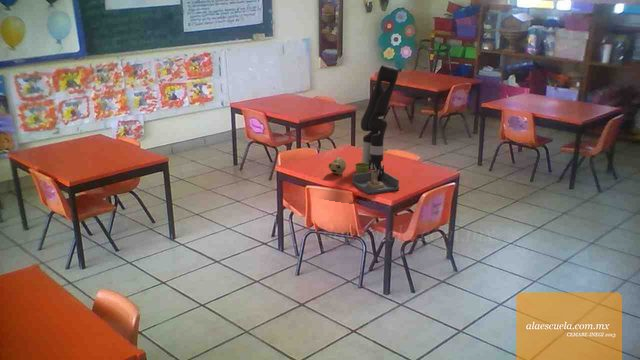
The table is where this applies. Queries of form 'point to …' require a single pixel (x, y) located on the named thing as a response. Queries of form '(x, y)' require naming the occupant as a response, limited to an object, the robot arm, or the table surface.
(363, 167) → the plant pot
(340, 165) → the toy pig
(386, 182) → the walled box
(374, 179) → the connector
